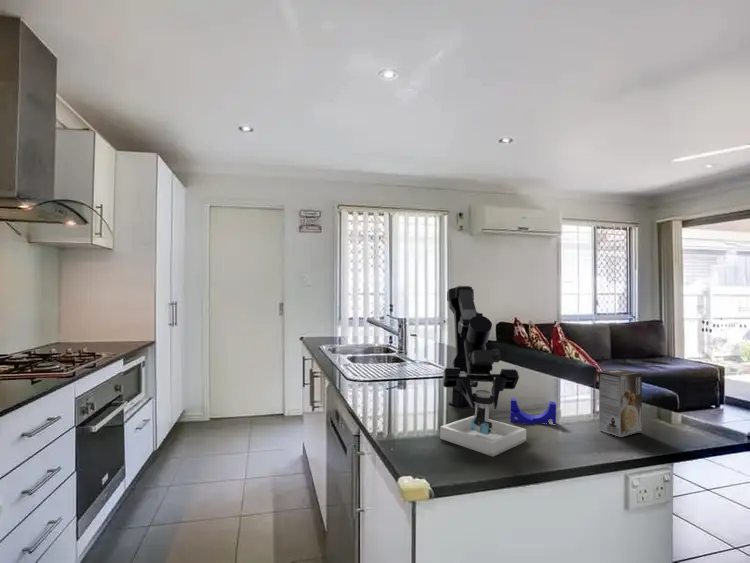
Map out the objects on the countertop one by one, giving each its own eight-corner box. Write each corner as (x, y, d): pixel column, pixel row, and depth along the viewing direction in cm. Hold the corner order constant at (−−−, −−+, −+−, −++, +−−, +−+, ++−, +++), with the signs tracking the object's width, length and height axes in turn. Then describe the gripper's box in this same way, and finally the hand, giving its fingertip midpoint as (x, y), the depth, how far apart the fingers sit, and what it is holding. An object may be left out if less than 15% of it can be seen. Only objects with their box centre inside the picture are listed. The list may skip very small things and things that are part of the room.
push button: (500, 434, 106) (503, 394, 106) (488, 438, 102) (491, 396, 103) (477, 427, 111) (480, 388, 111) (465, 430, 107) (468, 390, 108)
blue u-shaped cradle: (510, 422, 121) (510, 401, 121) (510, 418, 125) (510, 397, 125) (556, 427, 117) (556, 405, 118) (554, 422, 122) (555, 401, 122)
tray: (474, 426, 117) (474, 415, 117) (526, 441, 106) (526, 429, 106) (440, 438, 107) (440, 426, 107) (492, 456, 96) (493, 443, 96)
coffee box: (619, 426, 119) (619, 368, 119) (642, 433, 113) (643, 372, 113) (597, 431, 115) (598, 371, 115) (621, 438, 109) (621, 375, 109)
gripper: (444, 336, 111) (449, 389, 100) (517, 338, 110) (530, 391, 99) (440, 361, 119) (445, 412, 108) (508, 362, 118) (520, 415, 107)
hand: (484, 407), depth 105 cm, fingers closed on push button, 5 cm apart
